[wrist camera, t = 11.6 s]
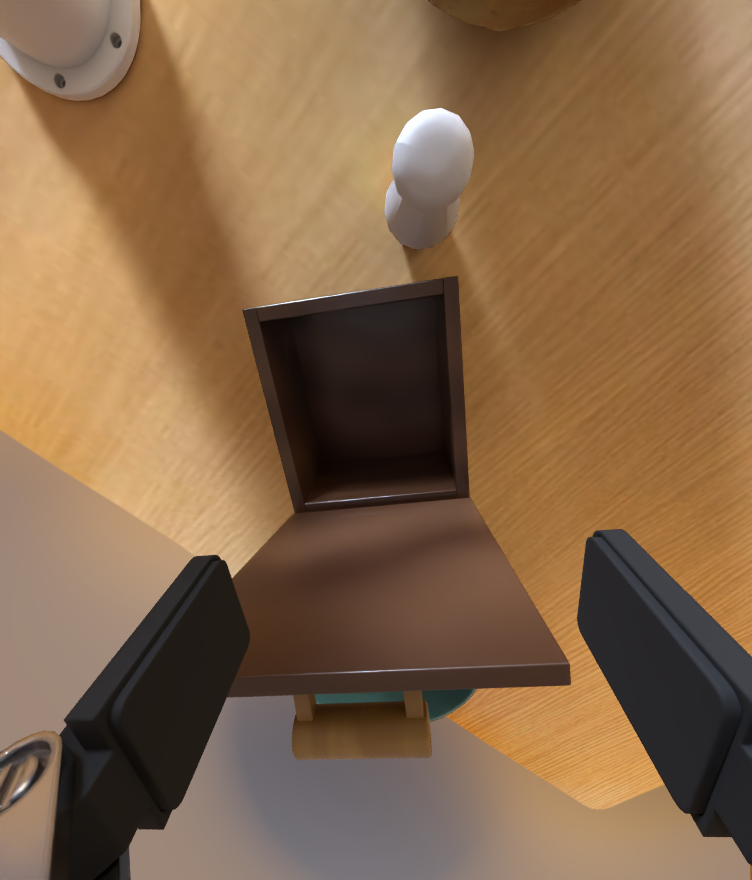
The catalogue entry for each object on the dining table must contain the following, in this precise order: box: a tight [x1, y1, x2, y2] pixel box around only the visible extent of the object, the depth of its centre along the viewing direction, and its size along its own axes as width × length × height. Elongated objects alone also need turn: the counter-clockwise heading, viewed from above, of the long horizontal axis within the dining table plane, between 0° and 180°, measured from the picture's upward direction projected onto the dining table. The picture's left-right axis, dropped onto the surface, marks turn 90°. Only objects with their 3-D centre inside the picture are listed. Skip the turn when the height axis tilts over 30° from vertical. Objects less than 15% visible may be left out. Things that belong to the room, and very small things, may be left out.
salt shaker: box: [384, 108, 474, 250], centre depth 24 cm, size 6×6×13 cm
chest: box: [242, 276, 470, 514], centre depth 31 cm, size 17×15×9 cm
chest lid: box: [227, 498, 571, 760], centre depth 21 cm, size 18×15×5 cm
